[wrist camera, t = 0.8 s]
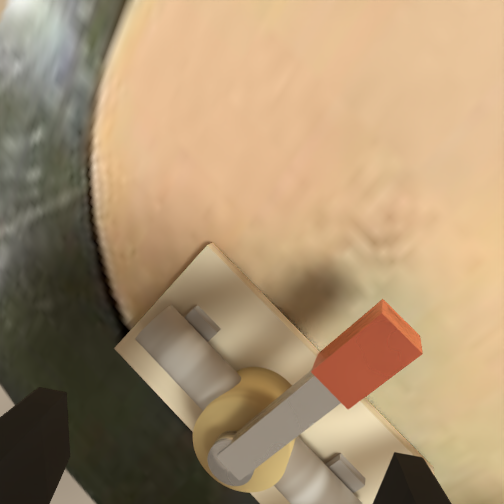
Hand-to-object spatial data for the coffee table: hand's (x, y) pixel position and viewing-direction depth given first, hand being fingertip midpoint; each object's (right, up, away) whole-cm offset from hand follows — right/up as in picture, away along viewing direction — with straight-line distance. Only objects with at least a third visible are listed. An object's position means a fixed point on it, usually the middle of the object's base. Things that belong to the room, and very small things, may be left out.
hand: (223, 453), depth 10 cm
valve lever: (+3, -3, +11) cm, 12 cm away
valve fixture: (+1, -5, +18) cm, 18 cm away
